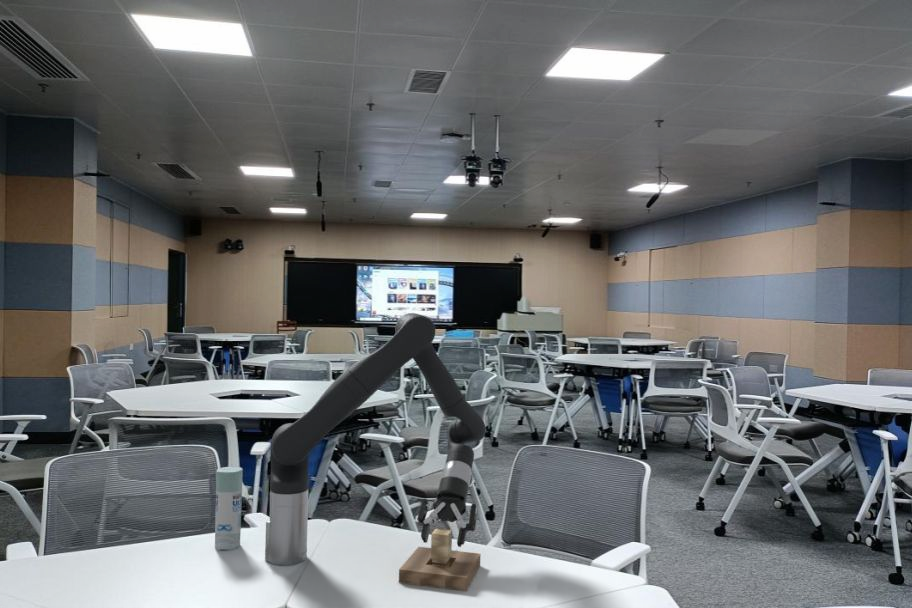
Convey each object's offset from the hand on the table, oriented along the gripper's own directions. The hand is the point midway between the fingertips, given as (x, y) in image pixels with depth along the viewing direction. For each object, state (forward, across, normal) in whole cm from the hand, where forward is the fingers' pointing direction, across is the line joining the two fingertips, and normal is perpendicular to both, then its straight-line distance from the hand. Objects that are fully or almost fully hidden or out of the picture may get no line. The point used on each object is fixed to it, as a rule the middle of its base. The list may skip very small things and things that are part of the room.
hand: (441, 543), depth 154 cm
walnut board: (+5, 0, +5) cm, 7 cm away
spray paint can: (+5, -58, +6) cm, 58 cm away
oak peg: (+5, 0, +5) cm, 7 cm away
